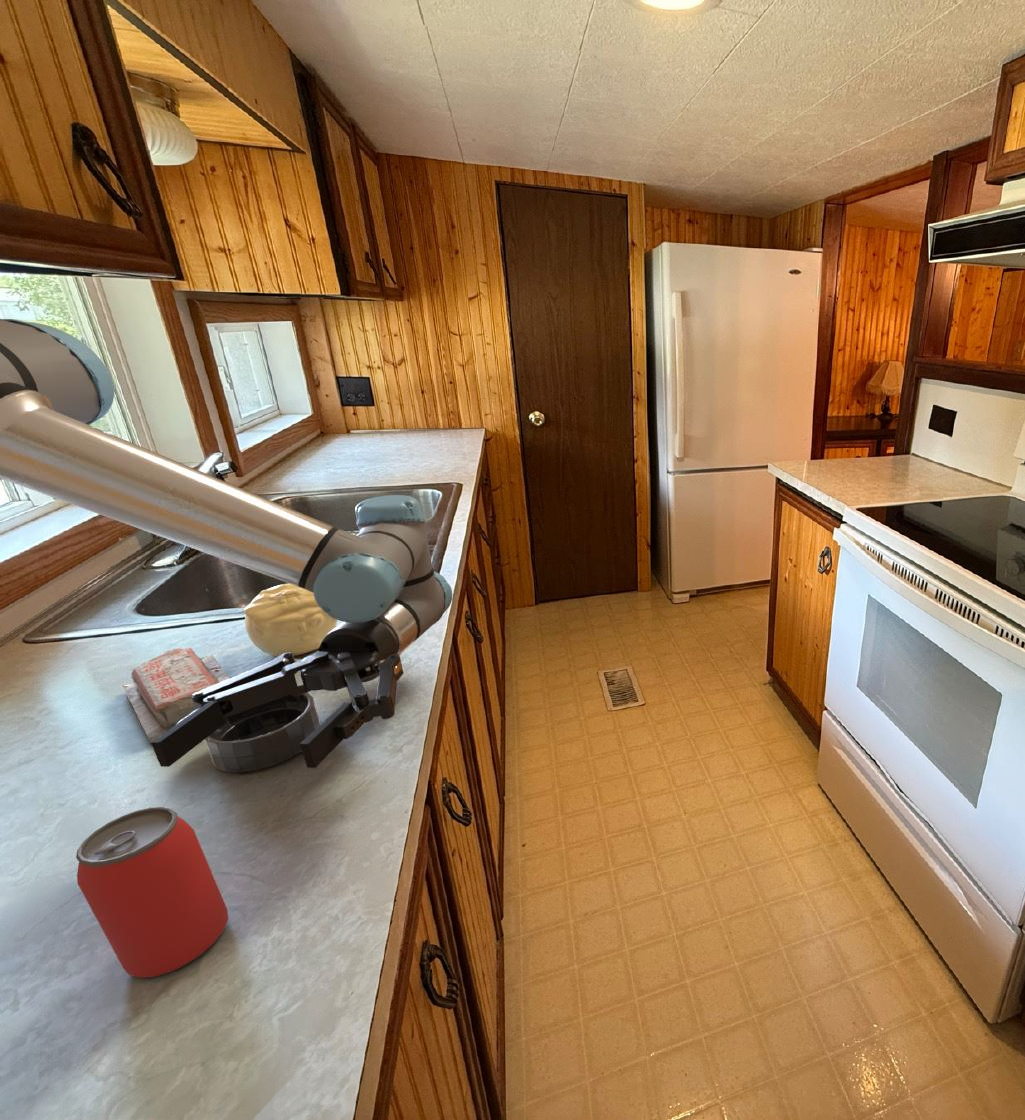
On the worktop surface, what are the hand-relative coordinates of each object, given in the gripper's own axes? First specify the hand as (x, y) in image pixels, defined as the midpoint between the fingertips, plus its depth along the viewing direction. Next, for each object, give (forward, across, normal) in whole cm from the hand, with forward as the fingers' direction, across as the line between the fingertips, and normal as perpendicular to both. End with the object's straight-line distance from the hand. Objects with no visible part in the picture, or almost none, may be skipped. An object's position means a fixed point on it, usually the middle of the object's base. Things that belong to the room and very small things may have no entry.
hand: (233, 755), depth 55 cm
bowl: (-15, +11, -11) cm, 22 cm away
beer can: (+10, 0, -11) cm, 15 cm away
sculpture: (-39, +24, -11) cm, 47 cm away
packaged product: (-24, +29, -11) cm, 40 cm away
